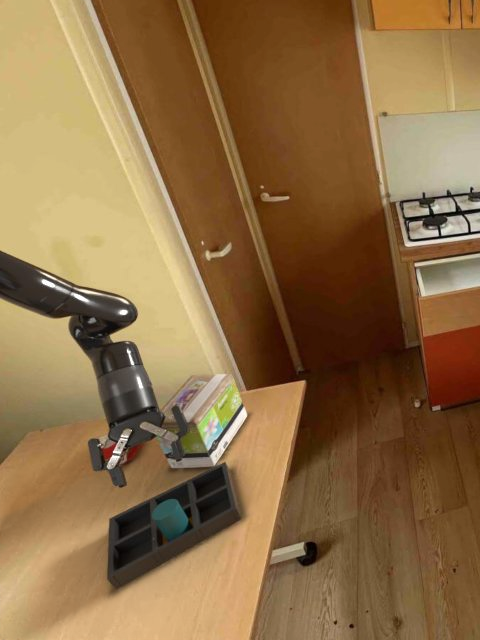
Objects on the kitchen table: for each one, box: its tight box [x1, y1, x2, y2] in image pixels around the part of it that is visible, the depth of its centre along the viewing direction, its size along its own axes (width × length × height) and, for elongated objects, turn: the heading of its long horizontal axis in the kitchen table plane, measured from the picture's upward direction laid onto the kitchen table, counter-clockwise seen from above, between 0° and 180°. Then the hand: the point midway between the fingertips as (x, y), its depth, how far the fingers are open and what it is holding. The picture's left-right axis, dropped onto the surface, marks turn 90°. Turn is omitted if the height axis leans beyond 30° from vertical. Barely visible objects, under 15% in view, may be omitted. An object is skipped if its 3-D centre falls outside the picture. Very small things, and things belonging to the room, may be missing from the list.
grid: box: [106, 461, 242, 590], centre depth 84 cm, size 20×13×4 cm
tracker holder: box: [103, 440, 144, 466], centre depth 100 cm, size 12×4×10 cm
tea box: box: [155, 373, 248, 469], centre depth 99 cm, size 15×10×15 cm
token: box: [152, 499, 193, 542], centre depth 81 cm, size 4×4×8 cm
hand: (152, 473), depth 80 cm, fingers open, 8 cm apart
